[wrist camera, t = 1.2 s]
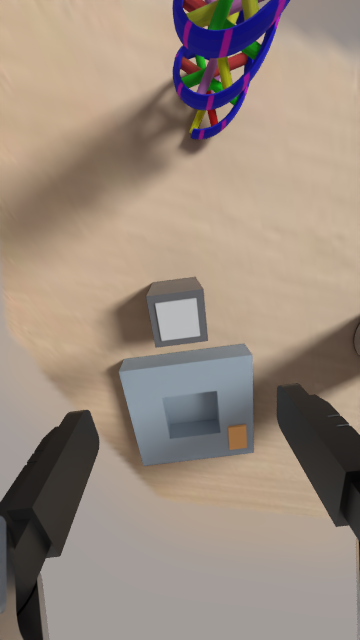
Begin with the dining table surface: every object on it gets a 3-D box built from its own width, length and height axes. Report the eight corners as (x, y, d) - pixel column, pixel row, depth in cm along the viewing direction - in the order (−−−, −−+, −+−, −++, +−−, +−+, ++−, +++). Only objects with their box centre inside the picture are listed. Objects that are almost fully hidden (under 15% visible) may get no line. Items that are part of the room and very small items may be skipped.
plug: (195, 276, 25) (203, 289, 18) (199, 316, 27) (208, 341, 20) (153, 282, 25) (145, 297, 19) (159, 321, 27) (155, 348, 20)
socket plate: (244, 343, 28) (253, 356, 25) (247, 435, 34) (254, 454, 31) (124, 359, 29) (118, 373, 25) (145, 447, 34) (143, 468, 31)
